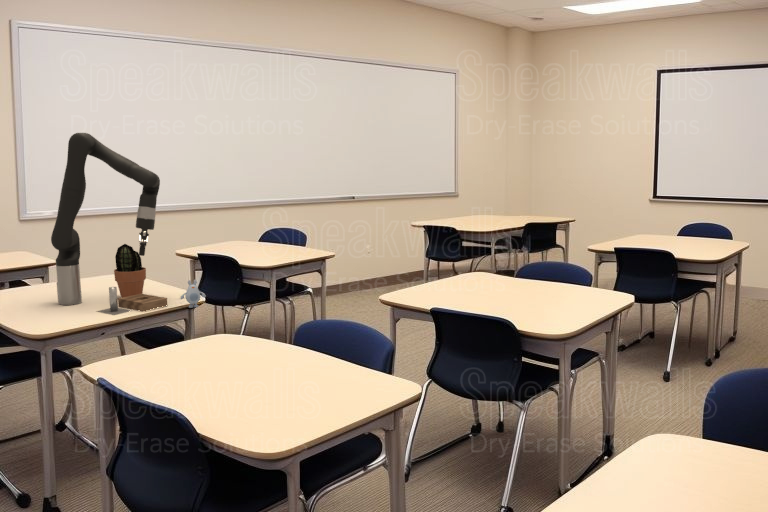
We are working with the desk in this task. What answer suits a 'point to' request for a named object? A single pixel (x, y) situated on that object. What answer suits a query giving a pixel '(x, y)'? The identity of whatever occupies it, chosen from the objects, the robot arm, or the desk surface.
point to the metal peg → (113, 299)
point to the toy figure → (192, 294)
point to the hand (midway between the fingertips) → (141, 255)
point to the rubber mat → (120, 310)
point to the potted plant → (129, 271)
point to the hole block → (142, 302)
